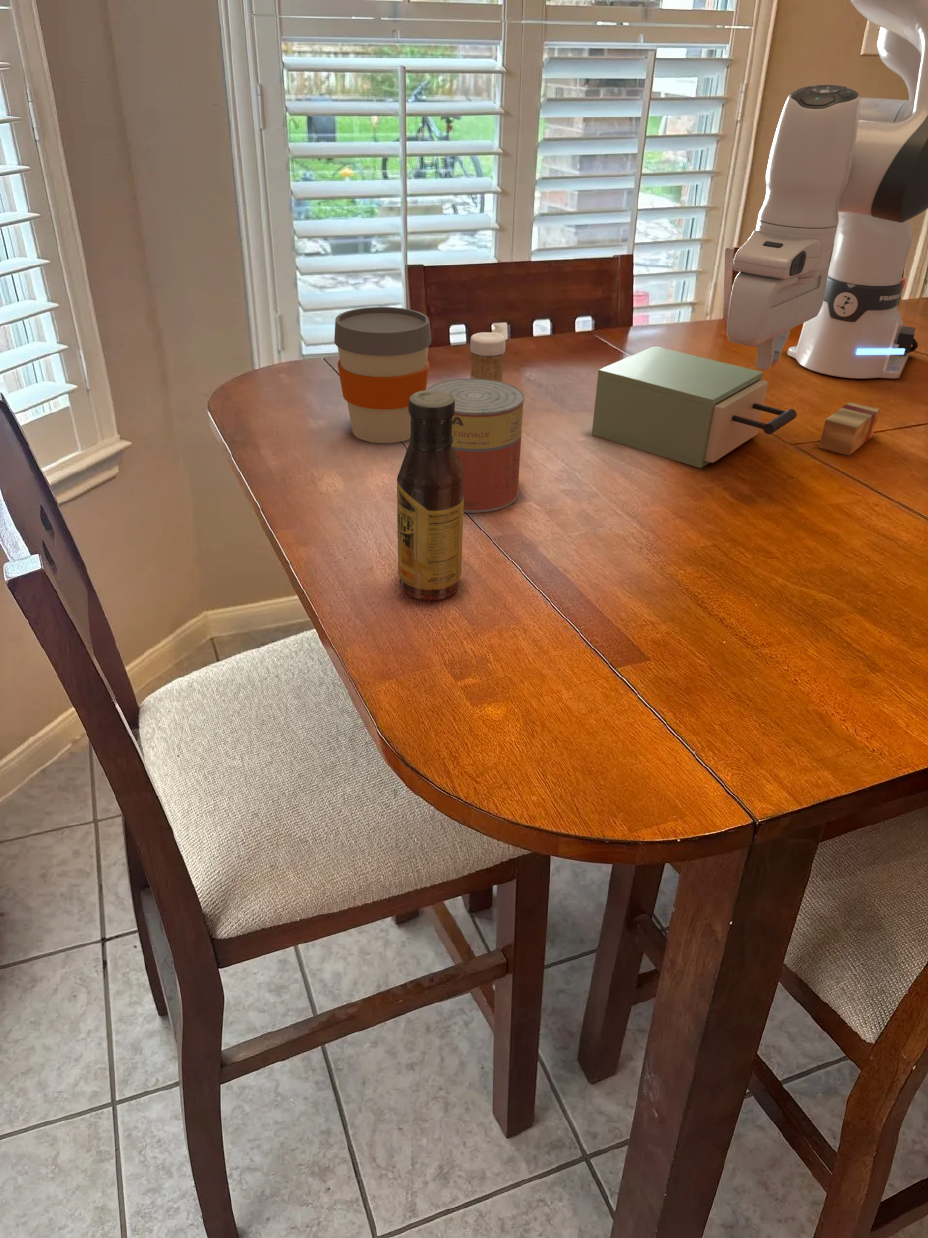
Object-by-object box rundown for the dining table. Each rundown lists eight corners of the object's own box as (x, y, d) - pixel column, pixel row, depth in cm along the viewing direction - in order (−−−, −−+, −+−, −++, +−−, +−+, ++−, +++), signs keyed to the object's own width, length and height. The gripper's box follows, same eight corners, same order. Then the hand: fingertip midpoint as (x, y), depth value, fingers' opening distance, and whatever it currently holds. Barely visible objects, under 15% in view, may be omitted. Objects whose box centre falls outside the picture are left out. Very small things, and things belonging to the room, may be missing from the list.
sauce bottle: (397, 572, 94) (394, 382, 83) (458, 571, 94) (463, 382, 83) (399, 607, 88) (395, 408, 77) (464, 605, 89) (469, 408, 78)
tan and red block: (842, 429, 130) (849, 401, 128) (872, 436, 128) (880, 408, 125) (817, 447, 124) (824, 418, 122) (849, 456, 122) (857, 427, 120)
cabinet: (750, 436, 127) (763, 371, 122) (700, 468, 117) (713, 399, 112) (645, 407, 135) (654, 345, 130) (591, 434, 126) (598, 369, 121)
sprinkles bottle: (507, 437, 124) (513, 338, 117) (479, 444, 122) (483, 343, 115) (488, 426, 127) (492, 329, 120) (461, 432, 125) (463, 333, 118)
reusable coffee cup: (450, 431, 126) (451, 320, 117) (382, 456, 118) (379, 339, 110) (387, 407, 133) (385, 301, 125) (320, 429, 125) (312, 318, 117)
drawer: (797, 444, 122) (810, 391, 118) (754, 475, 113) (766, 419, 109) (658, 406, 133) (665, 356, 129) (608, 431, 125) (614, 379, 121)
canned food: (411, 480, 112) (410, 384, 106) (494, 466, 116) (498, 373, 109) (445, 519, 104) (447, 418, 97) (534, 504, 107) (541, 405, 101)
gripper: (801, 232, 114) (777, 343, 122) (727, 256, 101) (705, 379, 109) (851, 240, 111) (823, 354, 119) (781, 265, 98) (755, 391, 105)
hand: (766, 366), depth 113 cm, fingers closed
